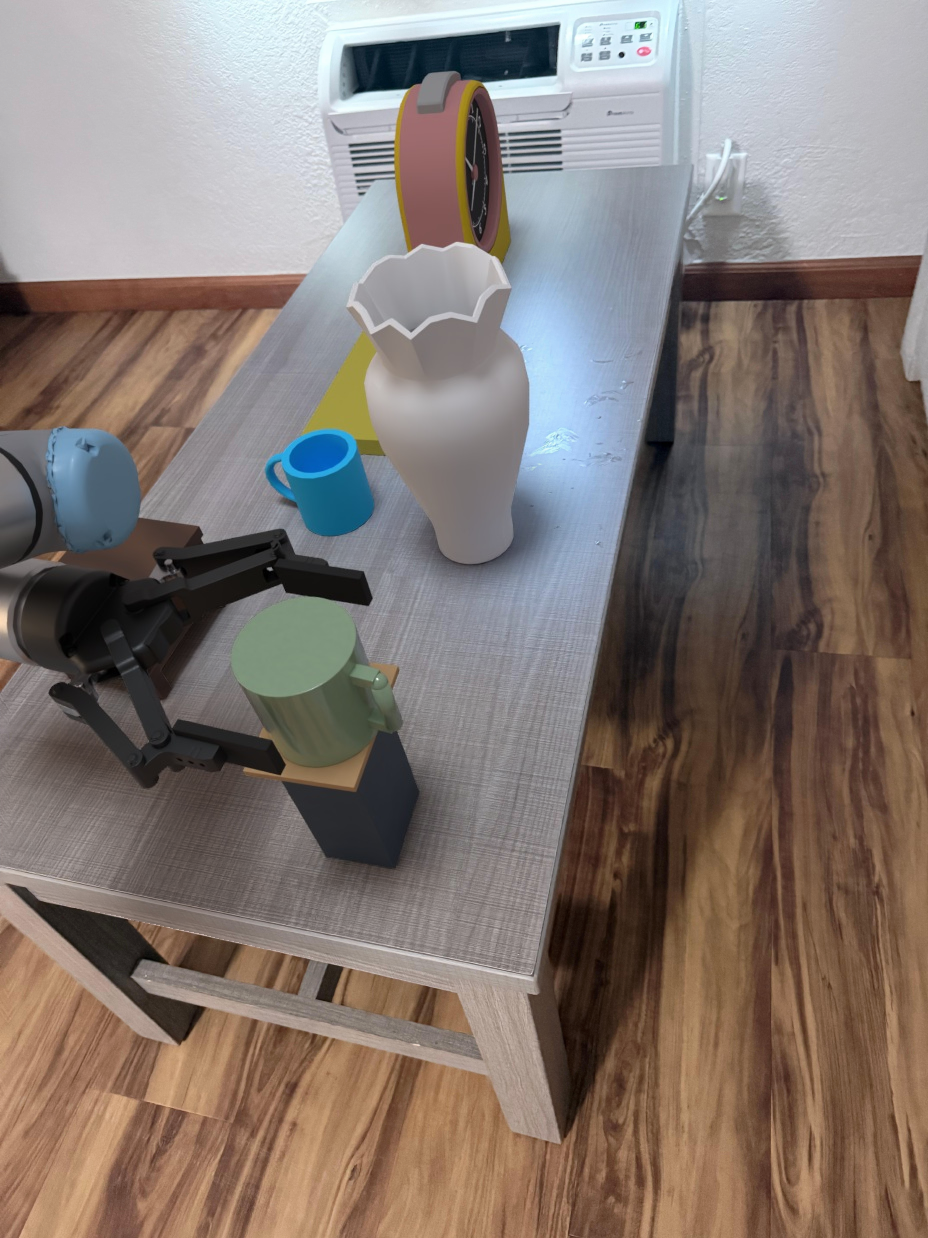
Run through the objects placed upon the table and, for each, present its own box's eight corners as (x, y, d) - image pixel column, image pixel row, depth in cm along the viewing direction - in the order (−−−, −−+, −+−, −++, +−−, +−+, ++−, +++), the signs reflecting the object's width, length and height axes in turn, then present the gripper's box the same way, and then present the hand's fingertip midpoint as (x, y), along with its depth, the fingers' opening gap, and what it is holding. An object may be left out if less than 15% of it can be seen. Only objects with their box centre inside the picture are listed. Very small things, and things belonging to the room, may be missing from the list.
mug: (385, 491, 100) (369, 432, 94) (355, 540, 95) (336, 482, 89) (294, 478, 104) (272, 421, 98) (261, 525, 99) (236, 469, 93)
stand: (402, 889, 68) (354, 787, 57) (307, 872, 70) (242, 771, 59) (435, 777, 74) (398, 665, 63) (347, 765, 77) (296, 654, 65)
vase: (422, 490, 99) (361, 238, 77) (553, 491, 96) (527, 228, 74) (393, 587, 90) (314, 332, 68) (536, 591, 86) (501, 324, 65)
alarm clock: (481, 314, 121) (451, 107, 102) (418, 315, 124) (377, 112, 104) (511, 239, 134) (490, 42, 115) (454, 240, 137) (423, 48, 117)
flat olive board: (398, 456, 104) (453, 340, 118) (394, 441, 102) (451, 326, 117) (305, 450, 107) (369, 339, 122) (300, 436, 105) (366, 325, 120)
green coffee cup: (248, 750, 60) (205, 679, 54) (305, 660, 64) (271, 586, 58) (380, 791, 56) (350, 720, 50) (431, 693, 61) (409, 617, 55)
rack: (165, 702, 84) (119, 635, 77) (65, 680, 88) (12, 614, 81) (234, 595, 92) (199, 525, 85) (140, 579, 96) (99, 511, 89)
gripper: (170, 533, 72) (407, 567, 66) (-27, 795, 58) (252, 875, 51) (130, 461, 67) (385, 491, 60) (-99, 732, 52) (204, 811, 45)
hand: (325, 667), depth 55 cm, fingers open, 13 cm apart
